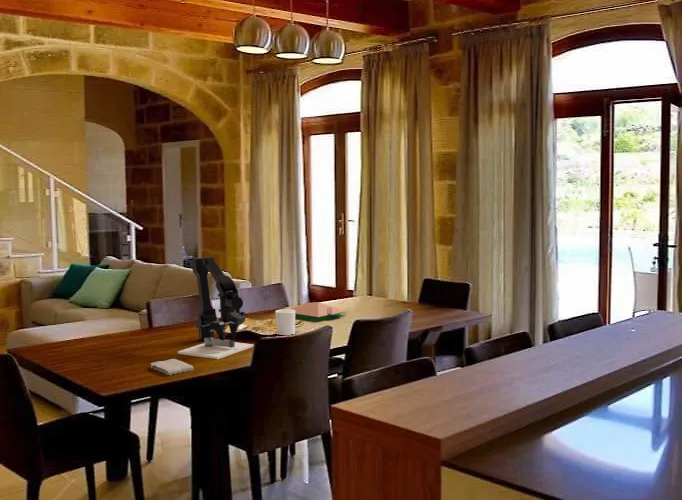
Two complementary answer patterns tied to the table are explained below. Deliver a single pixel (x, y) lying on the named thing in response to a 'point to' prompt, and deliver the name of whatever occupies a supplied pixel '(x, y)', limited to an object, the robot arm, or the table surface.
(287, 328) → the candle holder
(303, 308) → the house
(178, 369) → the washcloth
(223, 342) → the tuner lever
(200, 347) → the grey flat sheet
